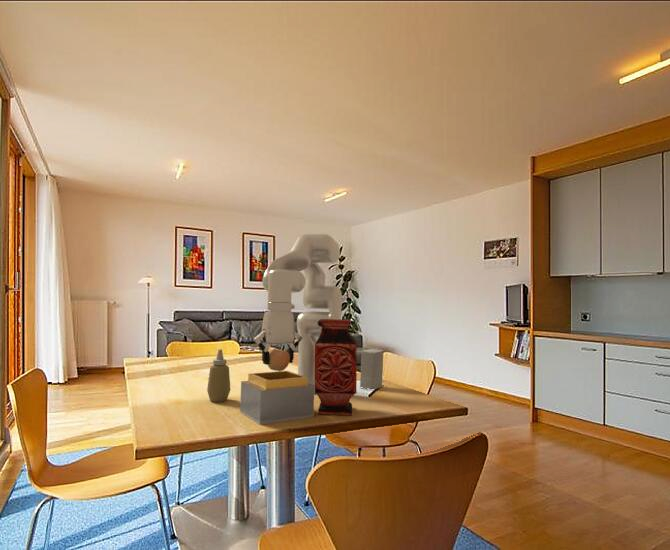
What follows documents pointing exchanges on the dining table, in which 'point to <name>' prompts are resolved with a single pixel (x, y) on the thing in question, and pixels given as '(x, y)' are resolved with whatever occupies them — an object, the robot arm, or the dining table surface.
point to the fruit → (278, 359)
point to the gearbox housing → (276, 397)
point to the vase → (335, 367)
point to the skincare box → (371, 368)
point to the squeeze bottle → (219, 379)
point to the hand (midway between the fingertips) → (277, 362)
